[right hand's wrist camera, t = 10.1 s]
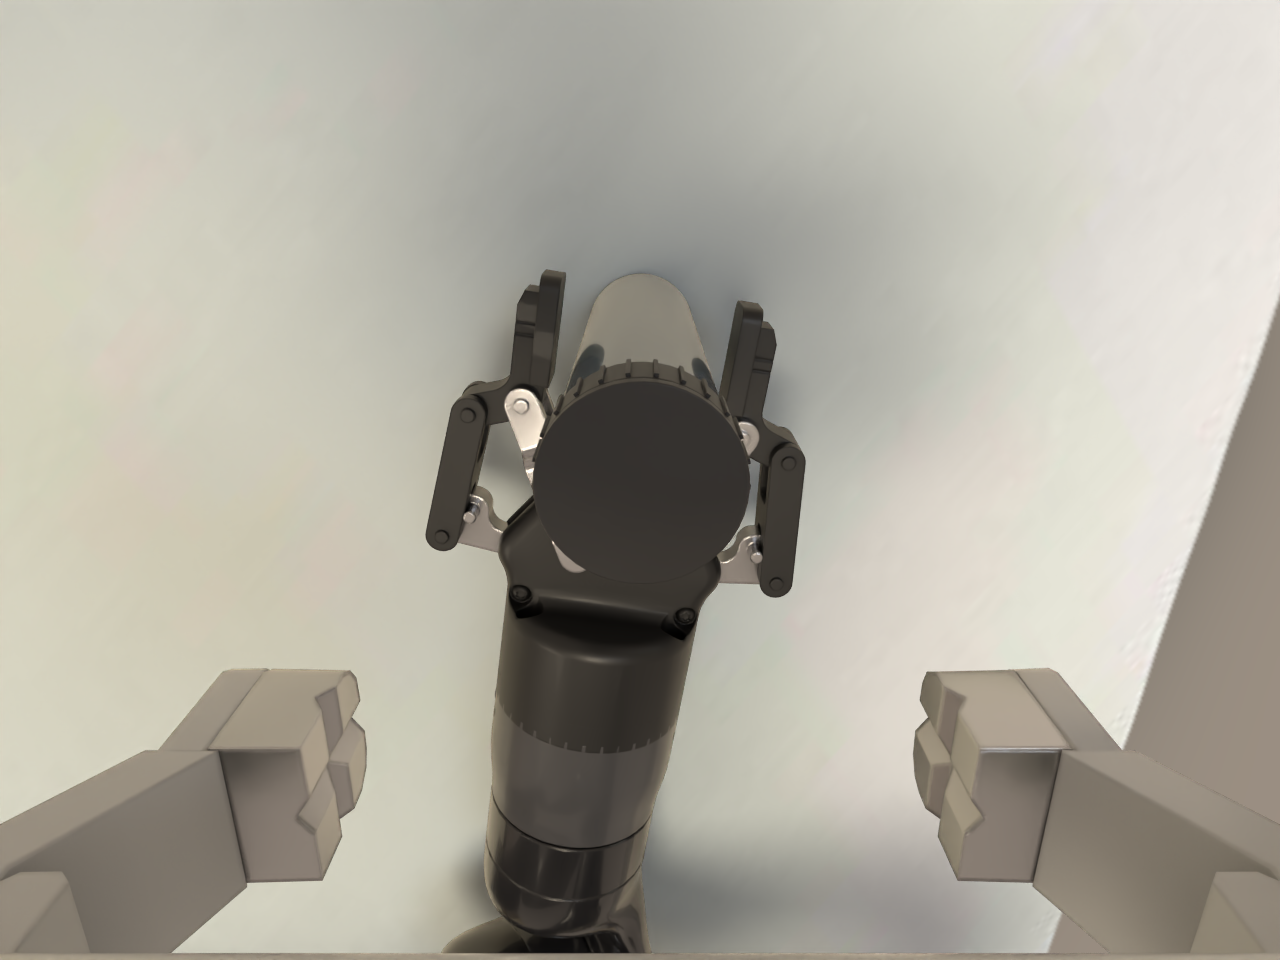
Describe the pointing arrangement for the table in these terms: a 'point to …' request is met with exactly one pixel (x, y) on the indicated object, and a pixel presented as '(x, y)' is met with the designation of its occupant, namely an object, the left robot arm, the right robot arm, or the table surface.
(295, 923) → the table surface
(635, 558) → the lid
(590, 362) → the blue-grey bottle
